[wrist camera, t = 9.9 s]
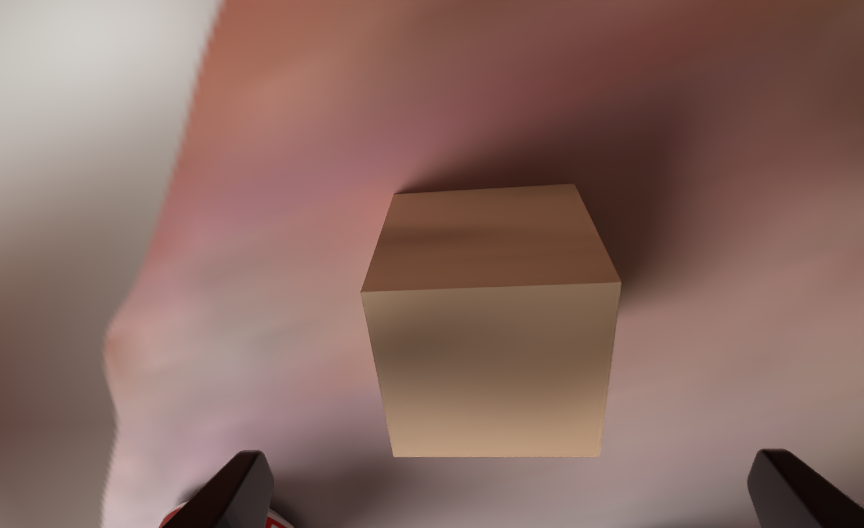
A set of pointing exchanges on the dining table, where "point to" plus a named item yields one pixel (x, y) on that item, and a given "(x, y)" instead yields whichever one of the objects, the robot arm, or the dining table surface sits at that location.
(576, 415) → the light wood block
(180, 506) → the soda can
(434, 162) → the dining table surface
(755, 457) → the robot arm
